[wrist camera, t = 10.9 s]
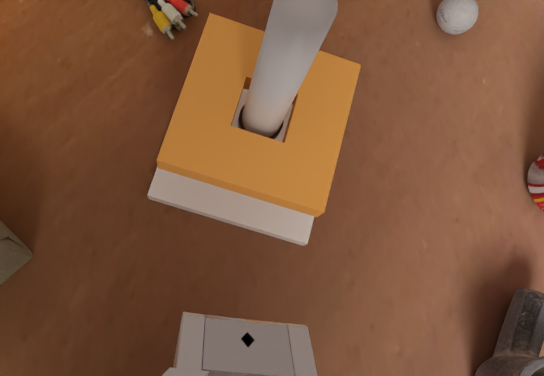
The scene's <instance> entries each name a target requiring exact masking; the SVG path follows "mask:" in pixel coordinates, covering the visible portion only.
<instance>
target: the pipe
mask: <svg viewBox="0 0 544 376" xmlns="http://www.w3.org/2000/svg"><path fill="white" fill-rule="evenodd" d="M543 341H544V294H543V293H541V292H538V291H534V290H530V289H526V288H517V289H516V290H515V293H514V295H513V298H512V300H511V303H510V306H509V309H508V311H507V314H506V317H505V320H504V323H503V326H502V329H501V331H500V334H499V337H498V341H497V344H496V347H495V351H494V354H493V356H492V357H491V358H489V359H488V360H486V361H485V362H483V363H482V364H481V365H480V366H479V367H478V369H477V370H476V373H475V375H474V376H544V356H542V357H539V354H540V350H541V347H542V344H543Z"/></svg>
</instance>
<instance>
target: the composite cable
mask: <svg viewBox="0 0 544 376" xmlns="http://www.w3.org/2000/svg"><path fill="white" fill-rule="evenodd" d="M187 1H188V2H189V3H190V4H191V5H190V4H188V3H186V2H185V1H183V0H146V2H147V4H148V6H149V7H150V10H151V12H152V13H153V20H154V22H155V23H156V25H157V26H158V28H159V29H160V31H161V32H162V33H164V34H165V35H166V34H168V36H169V37H170V39H171V40H174V36H173V34H172V32H171V27H172V28H176V29H177V30H179V31H180V32H181V31H182V28H183V29H186V28H187V27H186V25H184V23H183V18H182V17H188V16H191V15H194V16H195V17H197V16H198V14H197V13H196V12H194V11H195V4H194V2H193V1H192V0H187Z"/></svg>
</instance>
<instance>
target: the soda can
mask: <svg viewBox="0 0 544 376" xmlns="http://www.w3.org/2000/svg"><path fill="white" fill-rule="evenodd" d="M527 182H528V188H529V192H530V194H531V196H532V198H533V200H534V202H535V203H536V204H537V206H538V207H539V208H540V209H541V210H543V211H544V154H542V155H541V156H539V157H538V158H536V159H535V160H534V161H533V163H532V164H531V166H530V168H529V171H528V178H527Z"/></svg>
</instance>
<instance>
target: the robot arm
mask: <svg viewBox="0 0 544 376" xmlns="http://www.w3.org/2000/svg"><path fill="white" fill-rule="evenodd" d="M162 376H318V375H317V370H316V365H315V360H314V355H313V350H312V345H311V340H310V335H309V330H308V327H307V326H306V325H302V324H291V323H286V324H285V323H279V322H269V321H259V320H249V319H239V318H231V317H223V316H216V315H208V314H205V315H204V314H197V313H190V312H183V314H182V319H181V324H180V330H179V335H178V341H177V346H176V352H175V358H174V364H173V368H169V369H168V370H167V371H166V372H165V373H164V374H163V375H162Z"/></svg>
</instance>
